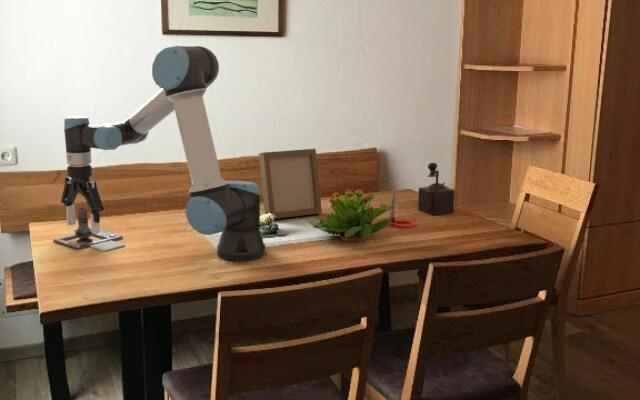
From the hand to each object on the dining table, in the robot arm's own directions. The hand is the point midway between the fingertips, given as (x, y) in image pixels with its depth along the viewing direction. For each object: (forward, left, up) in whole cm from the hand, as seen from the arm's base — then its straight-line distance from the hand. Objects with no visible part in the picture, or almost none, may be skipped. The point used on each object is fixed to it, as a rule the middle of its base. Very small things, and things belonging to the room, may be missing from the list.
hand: (83, 228), depth 230 cm
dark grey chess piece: (0, 0, -4) cm, 4 cm away
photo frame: (-28, -71, -4) cm, 76 cm away
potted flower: (-67, -61, -4) cm, 90 cm away
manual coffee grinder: (-67, -114, -4) cm, 132 cm away
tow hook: (-70, -86, -5) cm, 111 cm away
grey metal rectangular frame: (0, -2, -4) cm, 5 cm away
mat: (-11, -1, -4) cm, 12 cm away
